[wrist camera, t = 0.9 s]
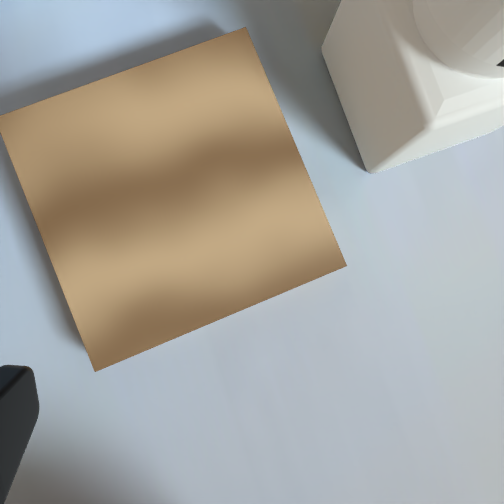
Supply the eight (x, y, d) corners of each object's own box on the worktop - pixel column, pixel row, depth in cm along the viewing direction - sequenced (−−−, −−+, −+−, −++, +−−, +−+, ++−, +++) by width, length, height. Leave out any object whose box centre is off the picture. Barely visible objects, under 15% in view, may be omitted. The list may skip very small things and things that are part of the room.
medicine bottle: (442, 7, 25) (653, -256, 13) (492, 133, 24) (755, -16, 12) (317, 48, 24) (414, -190, 12) (366, 177, 24) (517, 65, 12)
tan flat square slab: (336, 267, 23) (346, 265, 21) (106, 364, 22) (94, 372, 20) (243, 49, 24) (245, 26, 22) (14, 132, 23) (-6, 117, 21)
